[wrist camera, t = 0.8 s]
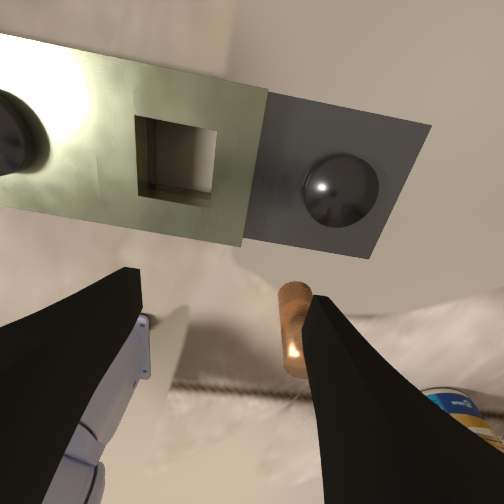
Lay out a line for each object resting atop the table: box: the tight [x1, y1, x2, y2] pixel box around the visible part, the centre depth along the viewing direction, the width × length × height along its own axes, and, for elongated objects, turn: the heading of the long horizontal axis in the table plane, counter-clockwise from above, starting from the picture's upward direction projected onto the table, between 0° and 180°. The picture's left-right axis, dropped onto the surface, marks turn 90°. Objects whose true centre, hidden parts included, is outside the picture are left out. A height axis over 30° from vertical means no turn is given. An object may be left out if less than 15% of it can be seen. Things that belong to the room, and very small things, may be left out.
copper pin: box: [278, 282, 313, 379], centre depth 19 cm, size 3×3×7 cm
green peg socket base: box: [0, 34, 432, 259], centre depth 15 cm, size 9×28×4 cm, turn 80°
